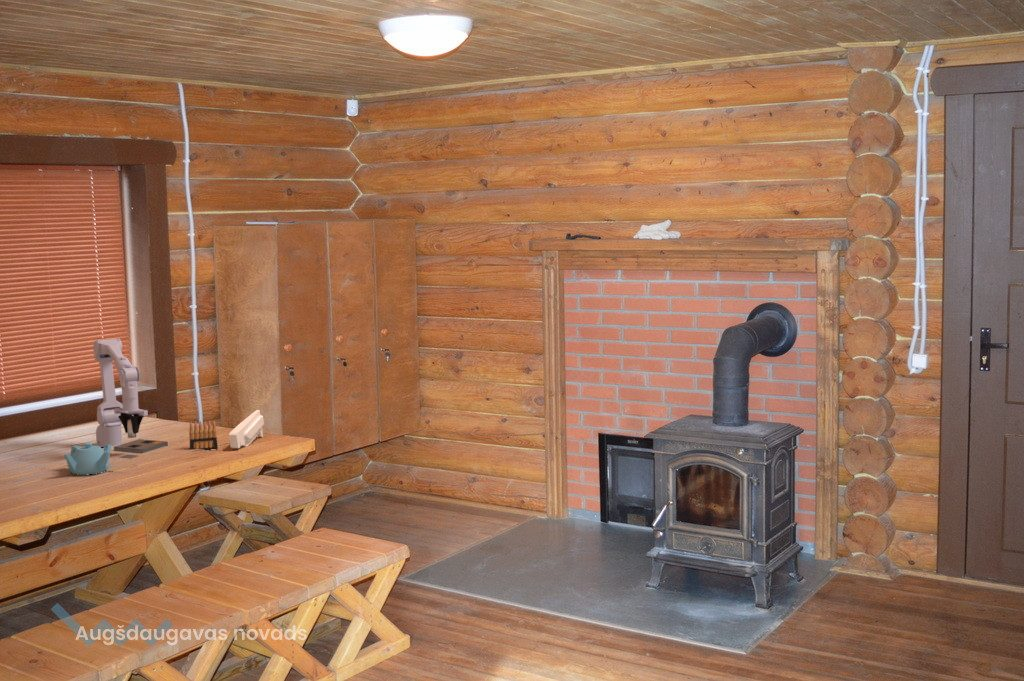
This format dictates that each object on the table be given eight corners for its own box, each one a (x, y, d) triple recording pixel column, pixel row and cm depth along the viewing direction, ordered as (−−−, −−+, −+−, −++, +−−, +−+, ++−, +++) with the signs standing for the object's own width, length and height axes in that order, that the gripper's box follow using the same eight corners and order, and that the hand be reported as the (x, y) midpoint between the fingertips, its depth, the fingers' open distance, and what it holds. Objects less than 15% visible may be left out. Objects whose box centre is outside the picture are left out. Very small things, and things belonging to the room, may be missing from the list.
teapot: (114, 465, 396) (113, 437, 394) (110, 475, 381) (108, 445, 380) (71, 468, 392) (69, 440, 390) (65, 478, 377) (63, 448, 376)
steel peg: (125, 437, 408) (124, 419, 407) (131, 435, 411) (130, 418, 410) (132, 438, 406) (131, 420, 406) (138, 436, 409) (137, 418, 408)
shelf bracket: (267, 437, 444) (264, 410, 440) (242, 462, 421) (238, 434, 417) (255, 437, 445) (252, 409, 441) (230, 462, 422) (226, 433, 418)
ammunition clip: (217, 448, 423) (216, 419, 421) (217, 449, 421) (216, 420, 420) (189, 451, 419) (188, 421, 417) (190, 452, 417) (188, 422, 416)
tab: (118, 459, 404) (118, 457, 404) (127, 457, 409) (127, 454, 409) (131, 461, 402) (131, 458, 402) (140, 458, 407) (139, 455, 407)
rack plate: (114, 452, 416) (113, 446, 416) (139, 445, 430) (139, 438, 430) (142, 455, 411) (142, 449, 411) (167, 447, 425) (167, 441, 425)
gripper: (107, 398, 405) (109, 433, 407) (138, 401, 400) (140, 436, 402) (120, 395, 412) (122, 429, 414) (150, 398, 407) (152, 432, 409)
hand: (131, 432), depth 408 cm, fingers closed on steel peg, 3 cm apart
